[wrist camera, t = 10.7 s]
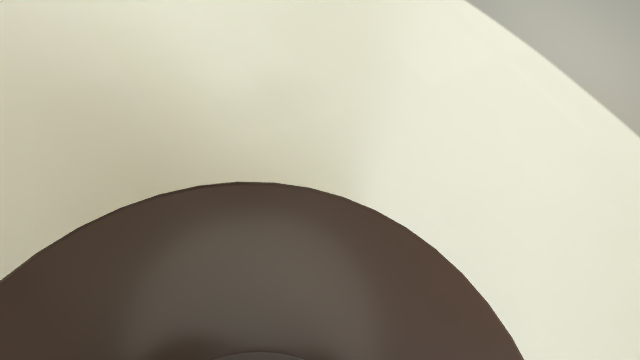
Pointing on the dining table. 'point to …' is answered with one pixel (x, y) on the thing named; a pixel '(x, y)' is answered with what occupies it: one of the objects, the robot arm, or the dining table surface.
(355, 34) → the dining table surface
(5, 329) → the pepper mill
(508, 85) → the dining table surface
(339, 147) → the dining table surface
